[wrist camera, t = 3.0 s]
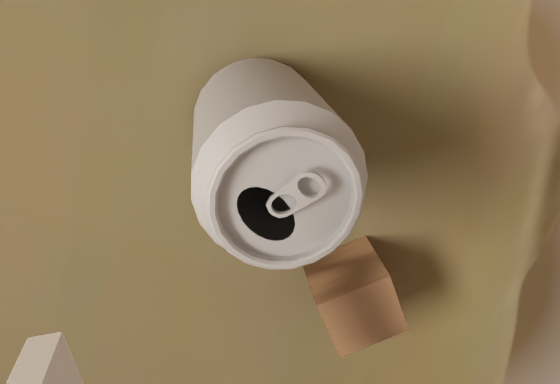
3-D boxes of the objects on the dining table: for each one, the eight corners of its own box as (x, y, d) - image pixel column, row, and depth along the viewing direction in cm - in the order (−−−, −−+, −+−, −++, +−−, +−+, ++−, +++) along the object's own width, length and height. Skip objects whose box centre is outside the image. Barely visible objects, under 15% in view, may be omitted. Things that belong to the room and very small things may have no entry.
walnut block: (323, 309, 36) (340, 357, 32) (301, 261, 34) (316, 306, 29) (383, 285, 36) (408, 329, 32) (365, 235, 34) (389, 275, 29)
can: (167, 113, 28) (145, 205, 17) (262, 26, 26) (303, 66, 16) (250, 195, 31) (276, 315, 20) (338, 121, 30) (416, 208, 19)
